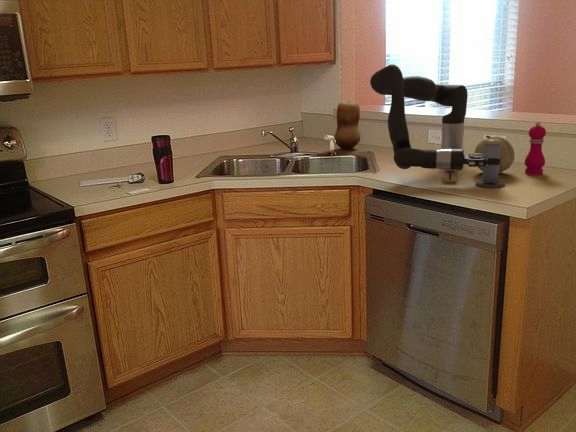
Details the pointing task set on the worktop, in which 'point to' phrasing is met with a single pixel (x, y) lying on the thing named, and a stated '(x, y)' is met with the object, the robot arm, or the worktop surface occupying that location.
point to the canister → (491, 151)
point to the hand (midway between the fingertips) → (498, 160)
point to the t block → (450, 175)
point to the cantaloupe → (505, 153)
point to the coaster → (490, 184)
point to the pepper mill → (535, 151)
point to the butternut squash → (347, 125)
